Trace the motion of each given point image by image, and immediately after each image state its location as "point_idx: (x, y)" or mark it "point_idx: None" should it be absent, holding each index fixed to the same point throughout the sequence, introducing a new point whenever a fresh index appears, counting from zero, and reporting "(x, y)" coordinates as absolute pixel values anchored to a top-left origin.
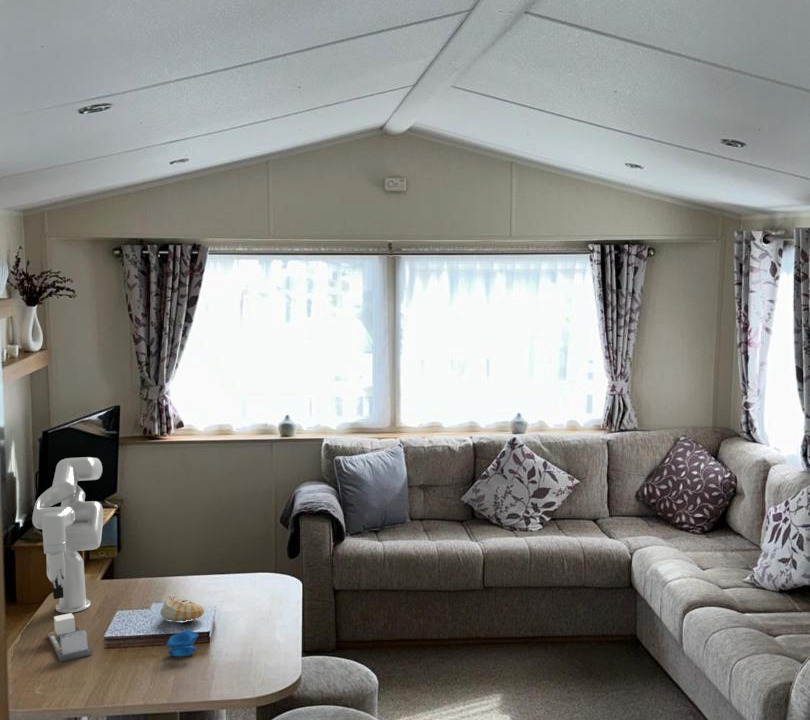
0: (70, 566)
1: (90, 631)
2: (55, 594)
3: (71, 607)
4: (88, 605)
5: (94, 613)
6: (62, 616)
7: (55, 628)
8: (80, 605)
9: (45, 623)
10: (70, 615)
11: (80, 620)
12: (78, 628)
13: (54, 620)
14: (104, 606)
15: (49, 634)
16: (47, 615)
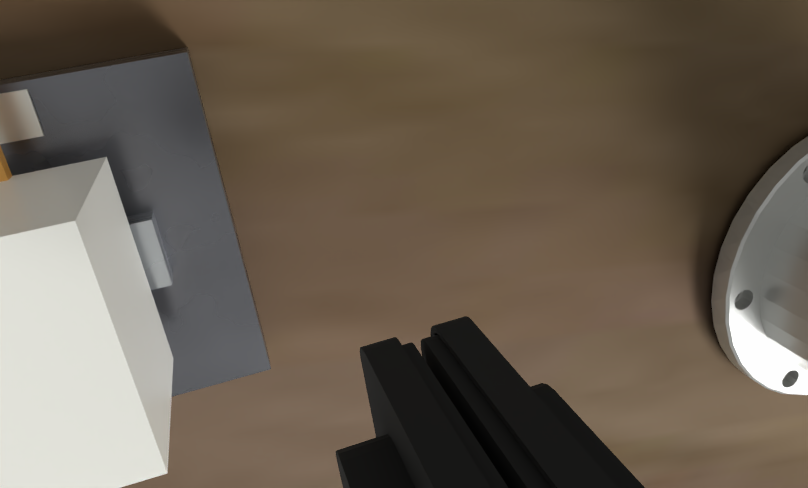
0: None
1: (193, 460)
2: (400, 438)
3: (777, 267)
4: (761, 384)
5: (609, 431)
6: (36, 363)
7: (13, 187)
8: (774, 337)
9: (606, 13)
10: (48, 475)
11: (514, 342)
12: (201, 387)
13: (34, 213)
14: (705, 478)
15: (110, 74)
16: (792, 33)
